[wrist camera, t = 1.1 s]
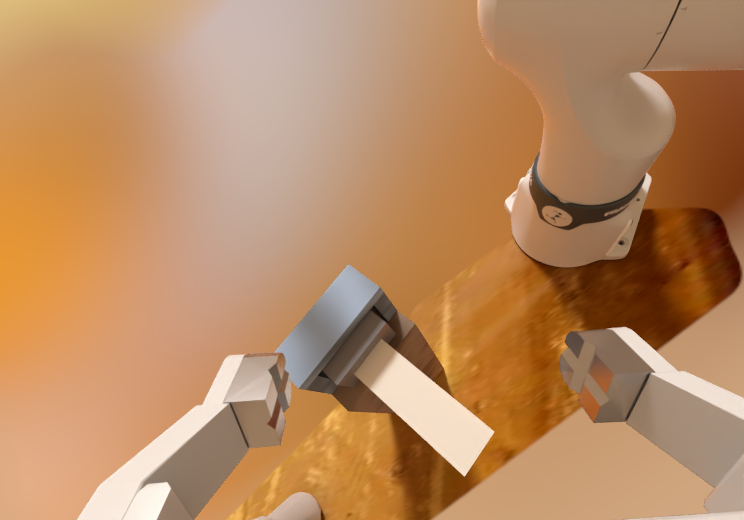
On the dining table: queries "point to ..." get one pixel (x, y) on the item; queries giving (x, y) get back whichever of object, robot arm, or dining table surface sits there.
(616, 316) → the dining table surface
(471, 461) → the cream bar
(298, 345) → the post
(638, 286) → the dining table surface
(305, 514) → the salt shaker
